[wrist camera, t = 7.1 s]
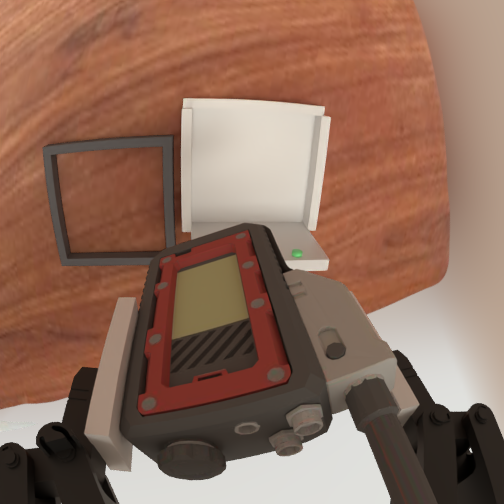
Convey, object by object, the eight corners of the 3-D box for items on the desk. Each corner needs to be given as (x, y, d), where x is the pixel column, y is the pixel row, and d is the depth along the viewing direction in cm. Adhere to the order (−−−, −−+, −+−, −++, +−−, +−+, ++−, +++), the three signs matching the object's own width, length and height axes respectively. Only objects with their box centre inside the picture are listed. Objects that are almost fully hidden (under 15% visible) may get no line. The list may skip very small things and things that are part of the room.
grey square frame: (65, 259, 37) (61, 265, 35) (48, 144, 29) (42, 147, 28) (176, 258, 39) (175, 264, 38) (173, 134, 32) (172, 136, 31)
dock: (183, 228, 37) (179, 274, 29) (183, 98, 30) (176, 101, 22) (306, 227, 40) (336, 269, 31) (321, 106, 33) (362, 114, 24)
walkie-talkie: (292, 196, 18) (519, 589, 1) (306, 259, 21) (461, 587, 3) (149, 243, 18) (106, 659, 1) (177, 299, 21) (188, 644, 3)
